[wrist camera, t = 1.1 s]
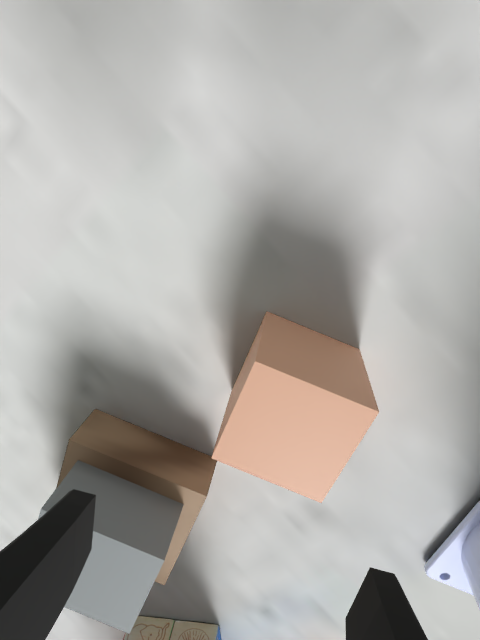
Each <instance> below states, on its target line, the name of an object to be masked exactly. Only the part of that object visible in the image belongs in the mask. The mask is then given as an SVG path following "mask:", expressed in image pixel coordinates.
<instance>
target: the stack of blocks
mask: <svg viewBox="0 0 480 640" xmlns="http://www.w3.org/2000/svg"><path fill="white" fill-rule="evenodd" d="M123 640H221V635H220V628H219V625H215V624H206V623H198V622H188V621H179V620H177V621H174V620H172V619H163V618H153V617H144V616H138V617H137V619H136V621H135V623H134V626H133V628H132V630H131V632H130V634H128V633H125V636H124V638H123Z"/></svg>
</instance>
